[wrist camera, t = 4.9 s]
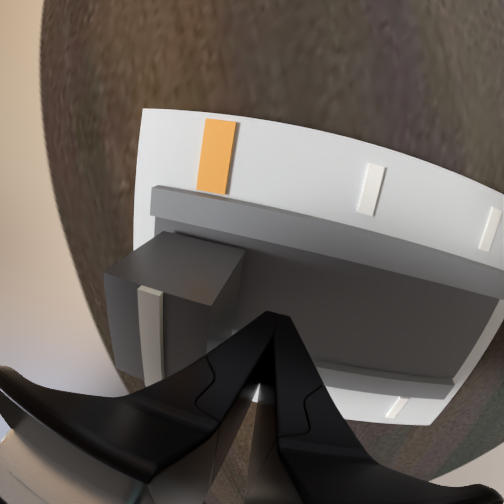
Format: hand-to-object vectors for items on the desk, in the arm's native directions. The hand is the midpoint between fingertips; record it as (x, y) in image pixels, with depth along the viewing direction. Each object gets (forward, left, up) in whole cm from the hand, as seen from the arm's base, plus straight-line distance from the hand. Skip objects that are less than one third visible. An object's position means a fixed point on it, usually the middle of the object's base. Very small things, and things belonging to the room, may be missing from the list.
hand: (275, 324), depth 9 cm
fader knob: (0, +3, -1) cm, 3 cm away
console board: (0, -2, -4) cm, 4 cm away
